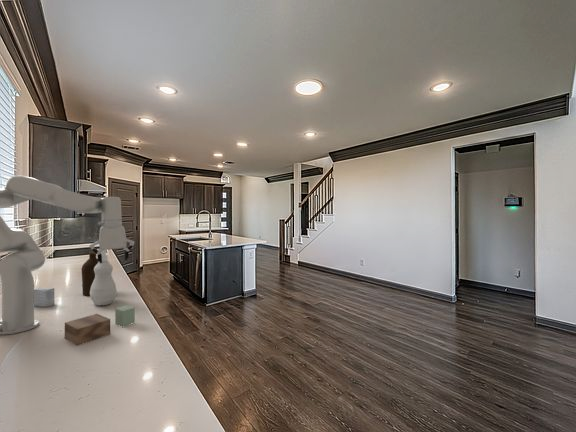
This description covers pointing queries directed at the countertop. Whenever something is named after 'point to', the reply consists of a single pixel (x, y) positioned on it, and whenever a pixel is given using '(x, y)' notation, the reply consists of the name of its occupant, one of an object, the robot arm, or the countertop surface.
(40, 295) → the medicine box
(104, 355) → the countertop surface
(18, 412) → the countertop surface
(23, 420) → the countertop surface
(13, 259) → the robot arm
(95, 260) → the olive oil
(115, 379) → the countertop surface
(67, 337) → the walnut riser
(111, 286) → the white vase
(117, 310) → the sage block
